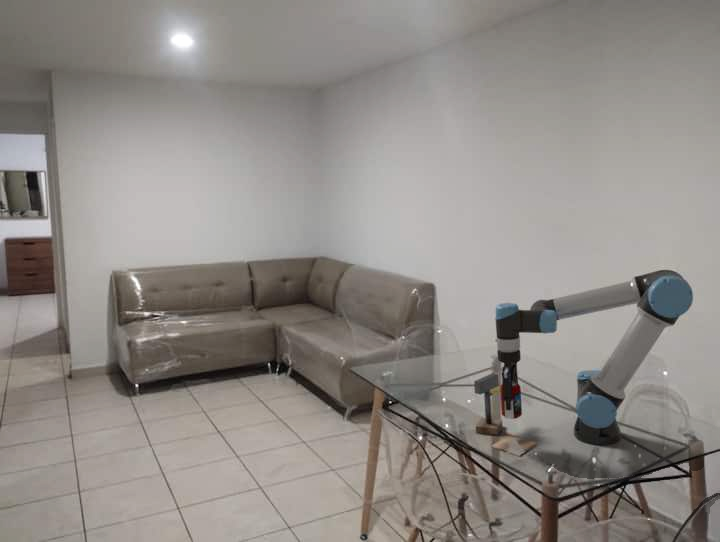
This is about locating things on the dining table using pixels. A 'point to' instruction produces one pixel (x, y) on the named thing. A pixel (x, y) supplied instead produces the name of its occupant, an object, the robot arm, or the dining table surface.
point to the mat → (503, 443)
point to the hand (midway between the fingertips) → (511, 413)
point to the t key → (487, 392)
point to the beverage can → (515, 397)
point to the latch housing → (489, 426)
